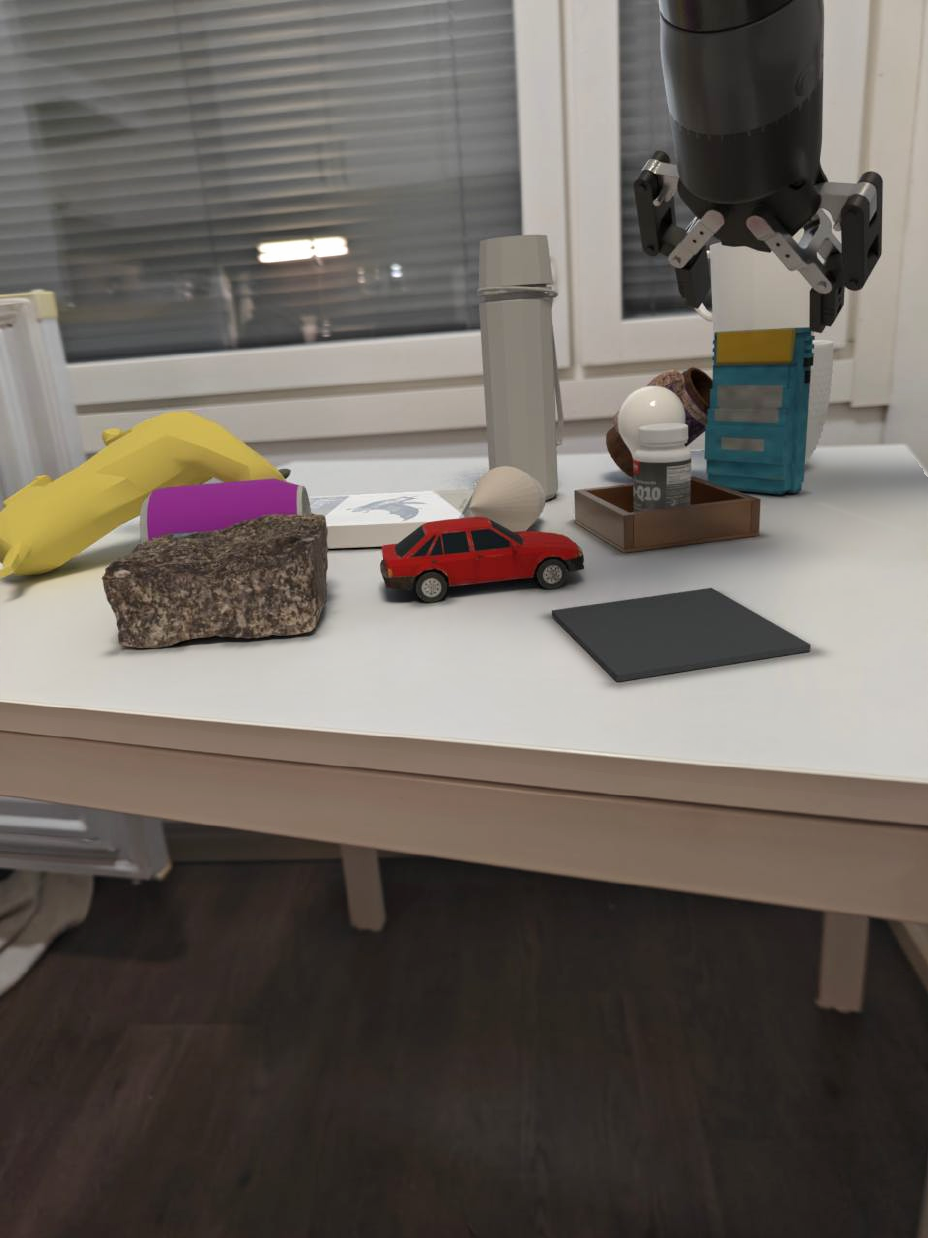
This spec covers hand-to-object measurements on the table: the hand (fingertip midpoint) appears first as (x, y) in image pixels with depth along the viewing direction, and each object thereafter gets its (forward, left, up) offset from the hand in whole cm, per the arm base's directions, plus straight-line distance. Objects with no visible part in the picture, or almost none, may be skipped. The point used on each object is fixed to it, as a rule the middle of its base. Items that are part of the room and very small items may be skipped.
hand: (758, 310), depth 56 cm
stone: (+39, -2, -10) cm, 40 cm away
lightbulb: (-2, -22, -17) cm, 28 cm away
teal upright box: (-13, -22, -17) cm, 30 cm away
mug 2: (-18, -32, -4) cm, 37 cm away
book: (+27, -25, -17) cm, 40 cm away
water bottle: (+7, -31, -17) cm, 36 cm away
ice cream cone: (+14, -15, -17) cm, 27 cm away
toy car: (+19, -3, -17) cm, 26 cm away
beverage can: (+43, -14, -13) cm, 47 cm away
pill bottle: (+1, -12, -17) cm, 21 cm away
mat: (+11, +11, -17) cm, 24 cm away
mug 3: (-21, -32, -17) cm, 42 cm away
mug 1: (-3, -34, -14) cm, 37 cm away
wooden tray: (+1, -12, -17) cm, 21 cm away
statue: (+51, -31, -15) cm, 62 cm away
